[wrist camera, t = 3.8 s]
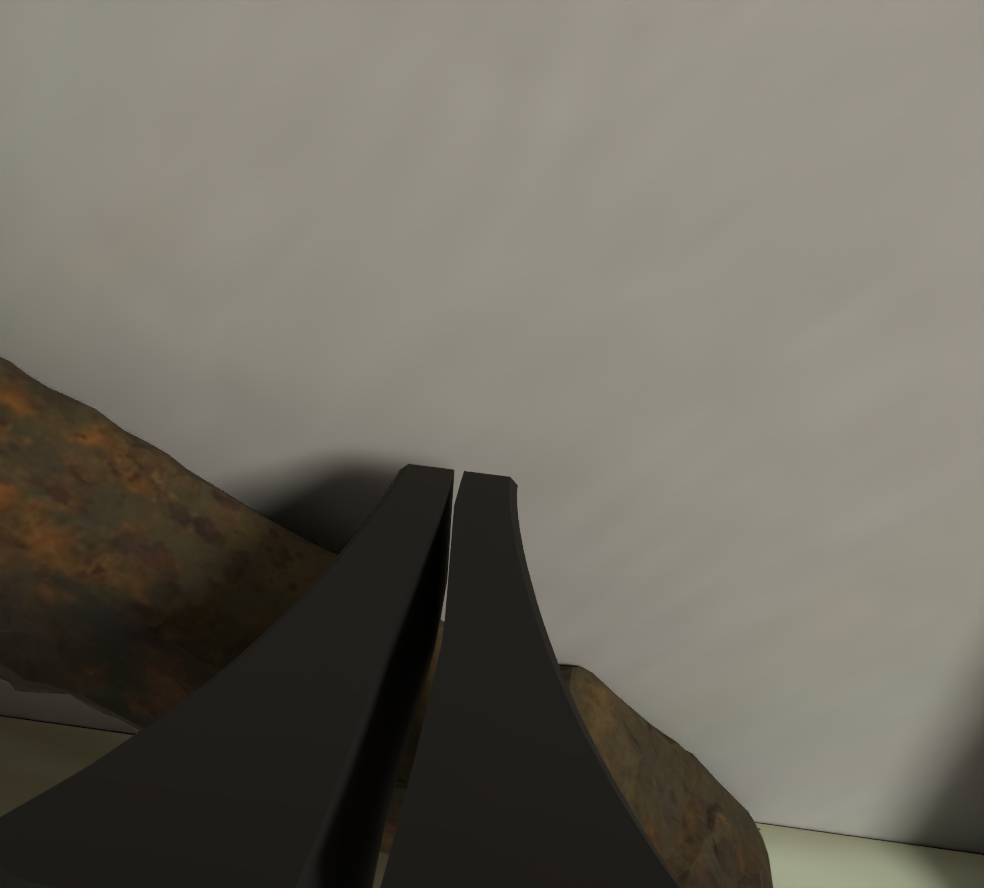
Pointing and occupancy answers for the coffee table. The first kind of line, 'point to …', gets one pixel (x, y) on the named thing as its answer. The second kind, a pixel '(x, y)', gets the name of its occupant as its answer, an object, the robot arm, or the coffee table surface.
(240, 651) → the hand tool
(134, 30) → the coffee table surface
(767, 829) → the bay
